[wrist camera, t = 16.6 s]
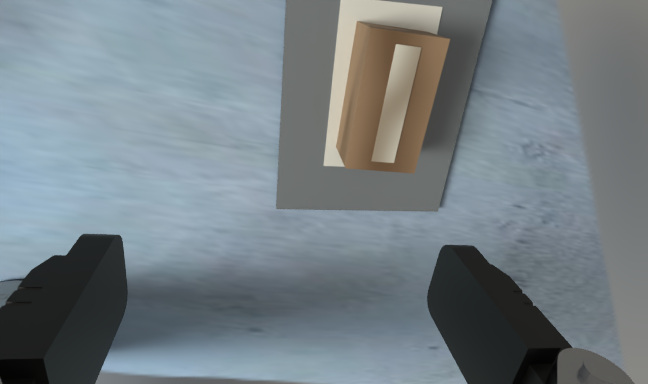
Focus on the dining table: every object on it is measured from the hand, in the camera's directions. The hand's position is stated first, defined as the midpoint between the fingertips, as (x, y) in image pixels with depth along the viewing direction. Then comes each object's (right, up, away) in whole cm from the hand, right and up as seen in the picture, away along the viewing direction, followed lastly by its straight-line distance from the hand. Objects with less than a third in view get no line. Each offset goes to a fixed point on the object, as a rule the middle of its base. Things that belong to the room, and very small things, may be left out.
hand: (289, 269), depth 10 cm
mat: (+5, +10, +20) cm, 22 cm away
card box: (+5, +9, +19) cm, 22 cm away
